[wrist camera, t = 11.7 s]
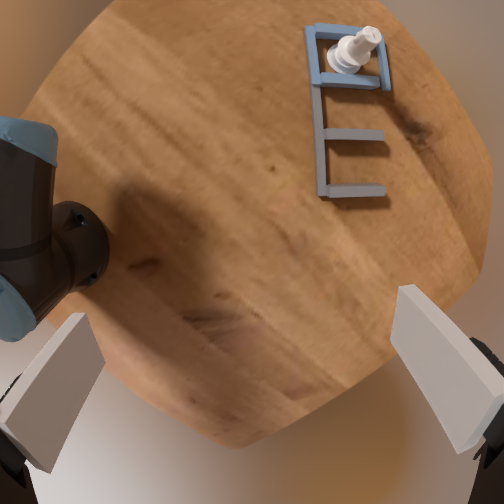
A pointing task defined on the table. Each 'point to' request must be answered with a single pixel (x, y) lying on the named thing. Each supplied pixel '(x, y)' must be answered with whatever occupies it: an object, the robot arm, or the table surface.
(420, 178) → the table surface
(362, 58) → the candle
